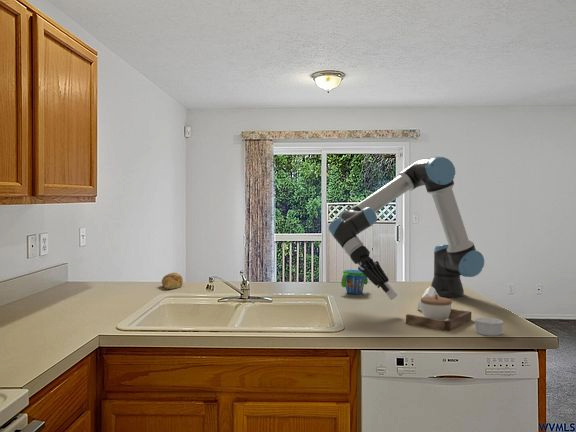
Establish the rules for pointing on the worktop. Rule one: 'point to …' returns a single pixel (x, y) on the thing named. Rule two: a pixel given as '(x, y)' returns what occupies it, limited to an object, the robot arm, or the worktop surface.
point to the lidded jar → (436, 307)
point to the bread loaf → (172, 281)
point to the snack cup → (354, 281)
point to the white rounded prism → (428, 295)
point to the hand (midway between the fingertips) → (394, 297)
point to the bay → (456, 320)
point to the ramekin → (488, 326)
